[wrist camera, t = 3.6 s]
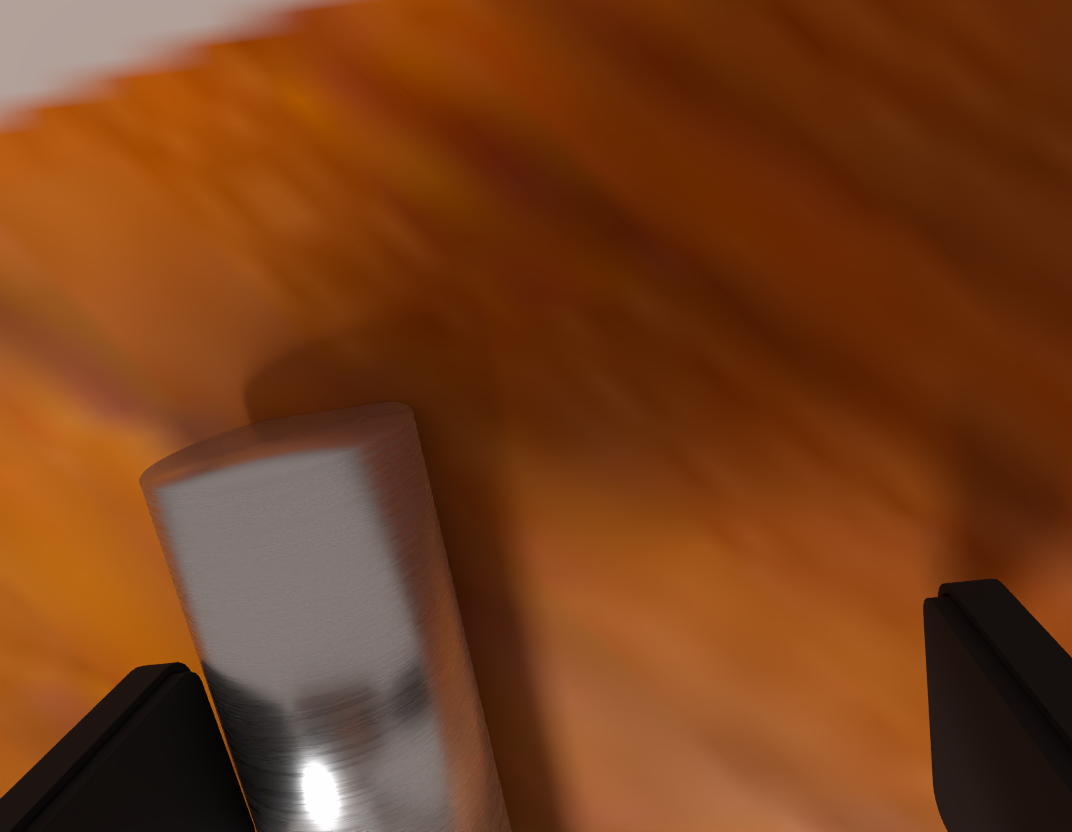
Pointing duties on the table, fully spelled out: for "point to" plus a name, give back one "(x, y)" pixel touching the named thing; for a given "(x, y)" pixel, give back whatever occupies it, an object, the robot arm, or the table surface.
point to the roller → (329, 623)
